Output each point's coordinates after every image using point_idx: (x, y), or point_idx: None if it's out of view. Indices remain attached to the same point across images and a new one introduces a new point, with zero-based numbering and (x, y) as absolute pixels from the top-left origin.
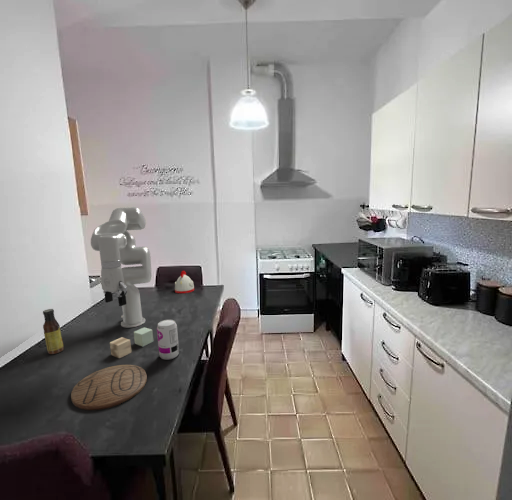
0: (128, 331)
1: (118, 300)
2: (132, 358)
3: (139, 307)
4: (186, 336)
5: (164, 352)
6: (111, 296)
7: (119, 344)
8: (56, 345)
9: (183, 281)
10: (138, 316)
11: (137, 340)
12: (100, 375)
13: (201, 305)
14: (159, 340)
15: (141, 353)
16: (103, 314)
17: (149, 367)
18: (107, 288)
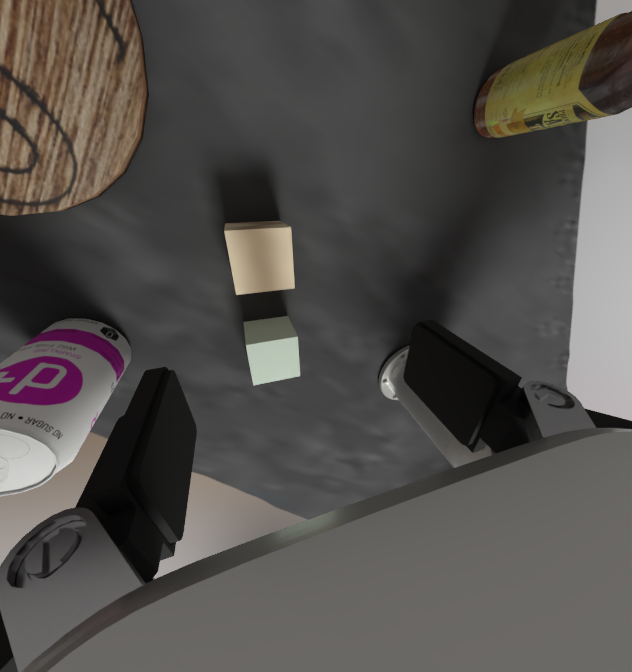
0: (379, 341)
1: (139, 426)
2: (181, 253)
3: (416, 420)
4: None
5: (35, 337)
6: (434, 404)
7: (230, 242)
8: (507, 85)
9: None
10: (399, 394)
11: (273, 325)
12: (63, 22)
13: (332, 500)
14: (24, 360)
15: (195, 294)
16: (521, 344)
17: (34, 253)
18: (527, 625)
